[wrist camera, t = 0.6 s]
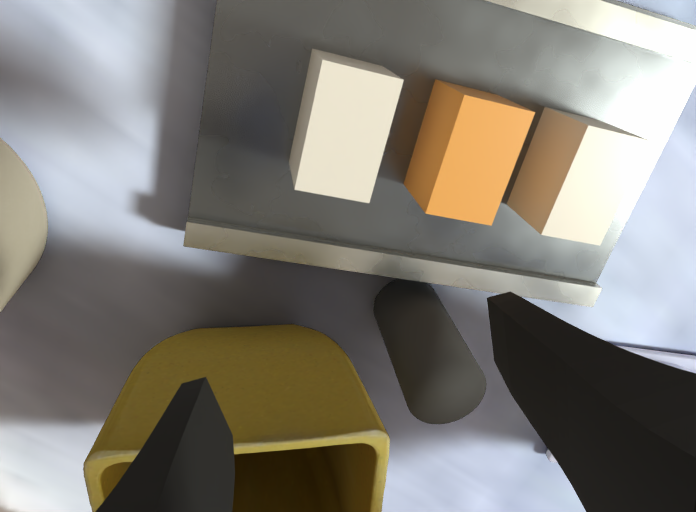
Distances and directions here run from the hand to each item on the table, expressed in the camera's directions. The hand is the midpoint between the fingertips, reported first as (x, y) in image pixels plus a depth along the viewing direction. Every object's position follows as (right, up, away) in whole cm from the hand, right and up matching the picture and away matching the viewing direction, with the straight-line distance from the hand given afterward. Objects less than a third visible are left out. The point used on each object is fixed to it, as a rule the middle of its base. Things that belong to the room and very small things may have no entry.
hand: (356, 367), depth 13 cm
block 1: (-1, +8, +6) cm, 10 cm away
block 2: (+4, +7, +7) cm, 11 cm away
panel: (+3, +8, +8) cm, 12 cm away
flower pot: (-5, -2, +12) cm, 13 cm away
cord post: (+2, 0, +11) cm, 12 cm away
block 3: (+8, +6, +8) cm, 13 cm away
